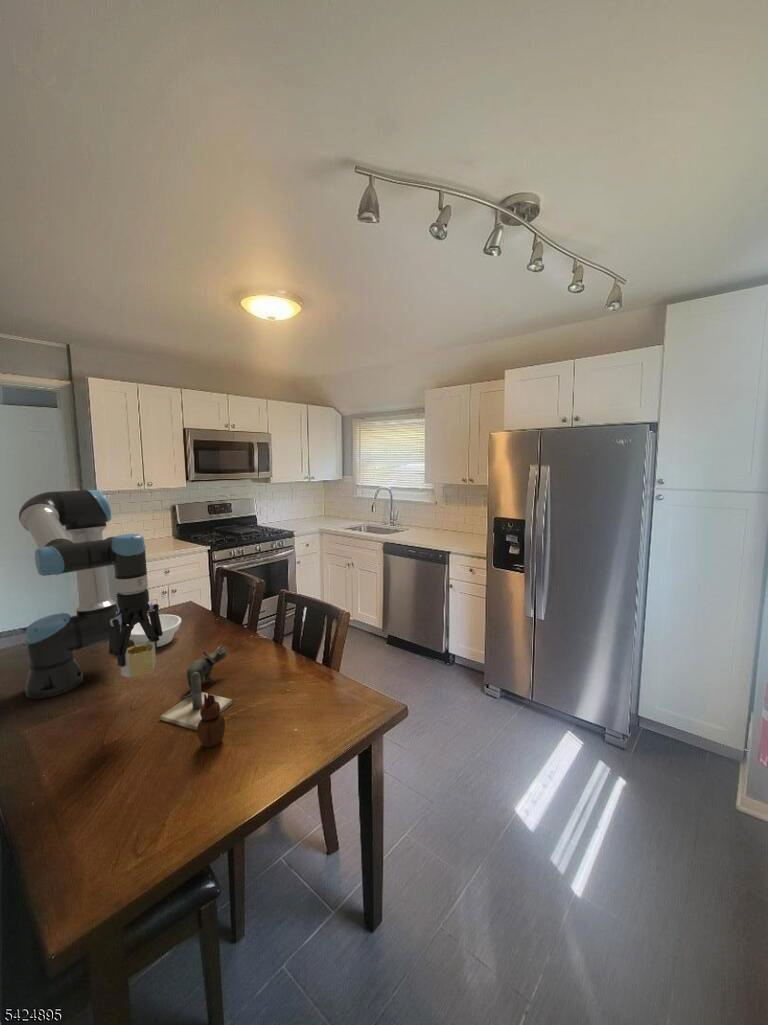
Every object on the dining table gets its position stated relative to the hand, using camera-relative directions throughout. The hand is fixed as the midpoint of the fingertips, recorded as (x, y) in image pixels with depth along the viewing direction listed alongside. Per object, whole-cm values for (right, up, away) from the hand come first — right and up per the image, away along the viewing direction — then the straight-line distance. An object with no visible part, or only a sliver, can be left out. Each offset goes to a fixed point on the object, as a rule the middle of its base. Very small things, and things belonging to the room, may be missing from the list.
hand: (139, 669), depth 118 cm
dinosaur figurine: (+8, -14, +20) cm, 26 cm away
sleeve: (0, 0, 0) cm, 0 cm away
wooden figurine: (+23, -18, -6) cm, 30 cm away
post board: (+13, -16, +8) cm, 22 cm away
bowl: (-25, -10, +54) cm, 61 cm away
